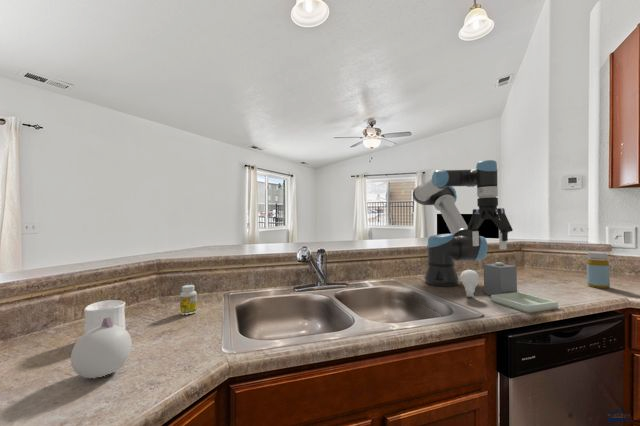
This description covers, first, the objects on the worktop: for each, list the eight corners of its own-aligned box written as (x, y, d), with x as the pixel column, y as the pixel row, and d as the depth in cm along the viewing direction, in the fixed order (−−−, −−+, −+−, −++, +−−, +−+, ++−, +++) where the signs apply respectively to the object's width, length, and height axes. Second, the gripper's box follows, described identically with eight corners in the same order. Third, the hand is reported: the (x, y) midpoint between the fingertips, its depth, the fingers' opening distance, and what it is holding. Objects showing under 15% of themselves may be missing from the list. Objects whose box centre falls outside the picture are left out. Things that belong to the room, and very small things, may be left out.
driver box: (483, 293, 118) (482, 261, 118) (498, 291, 120) (497, 260, 120) (501, 298, 110) (500, 265, 110) (517, 296, 112) (516, 263, 112)
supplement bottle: (200, 312, 101) (200, 285, 101) (186, 316, 96) (186, 288, 96) (190, 309, 103) (190, 283, 104) (177, 314, 99) (176, 286, 99)
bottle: (613, 287, 122) (612, 252, 122) (604, 289, 120) (603, 253, 120) (592, 284, 129) (591, 251, 129) (583, 285, 126) (582, 252, 126)
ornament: (140, 360, 67) (139, 309, 67) (115, 385, 57) (115, 325, 57) (92, 364, 65) (91, 312, 66) (58, 391, 55) (57, 329, 55)
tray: (491, 300, 107) (490, 295, 107) (519, 297, 111) (519, 291, 111) (527, 312, 93) (526, 306, 93) (558, 308, 97) (558, 301, 97)
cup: (93, 350, 73) (93, 312, 73) (75, 342, 78) (75, 307, 78) (132, 336, 81) (132, 302, 81) (114, 330, 86) (114, 297, 86)
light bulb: (482, 300, 108) (481, 271, 108) (463, 299, 109) (462, 271, 109) (476, 295, 114) (475, 268, 114) (458, 295, 116) (458, 268, 116)
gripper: (458, 199, 131) (459, 245, 130) (507, 195, 107) (508, 251, 106) (471, 199, 133) (472, 244, 133) (522, 195, 109) (524, 250, 109)
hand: (488, 247), depth 119 cm, fingers open, 13 cm apart
